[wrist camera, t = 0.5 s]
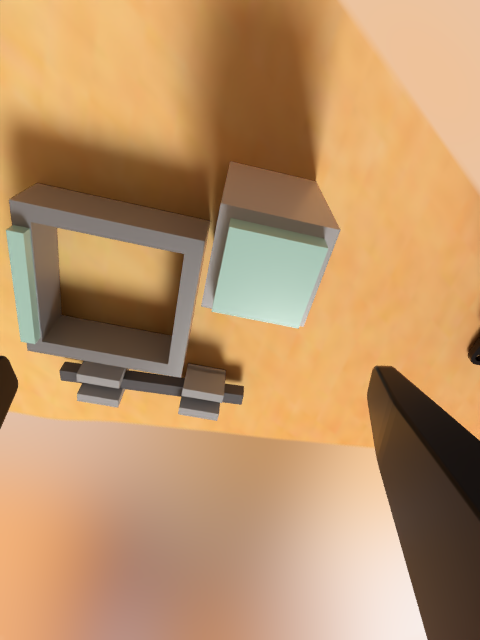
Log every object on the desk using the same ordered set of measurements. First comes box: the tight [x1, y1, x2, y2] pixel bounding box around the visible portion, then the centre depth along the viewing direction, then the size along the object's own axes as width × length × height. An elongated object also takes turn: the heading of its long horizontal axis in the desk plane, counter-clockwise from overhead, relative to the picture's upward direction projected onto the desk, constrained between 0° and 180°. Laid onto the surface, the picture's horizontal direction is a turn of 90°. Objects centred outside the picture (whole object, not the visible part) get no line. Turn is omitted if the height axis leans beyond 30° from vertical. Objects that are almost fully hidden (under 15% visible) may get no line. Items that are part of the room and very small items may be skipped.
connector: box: [201, 161, 340, 329], centre depth 16 cm, size 4×4×7 cm
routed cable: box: [60, 361, 244, 421], centre depth 24 cm, size 11×2×2 cm, turn 78°
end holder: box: [6, 183, 210, 378], centre depth 19 cm, size 8×8×3 cm
